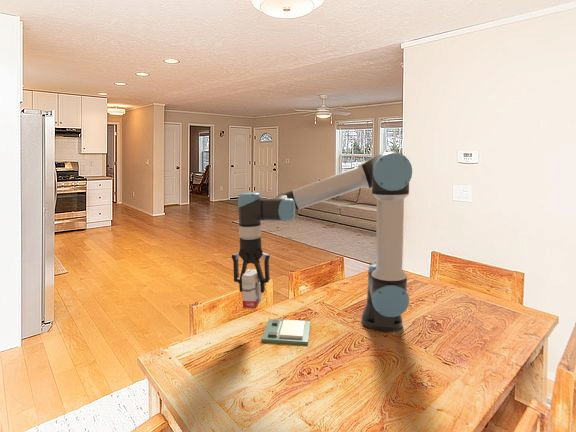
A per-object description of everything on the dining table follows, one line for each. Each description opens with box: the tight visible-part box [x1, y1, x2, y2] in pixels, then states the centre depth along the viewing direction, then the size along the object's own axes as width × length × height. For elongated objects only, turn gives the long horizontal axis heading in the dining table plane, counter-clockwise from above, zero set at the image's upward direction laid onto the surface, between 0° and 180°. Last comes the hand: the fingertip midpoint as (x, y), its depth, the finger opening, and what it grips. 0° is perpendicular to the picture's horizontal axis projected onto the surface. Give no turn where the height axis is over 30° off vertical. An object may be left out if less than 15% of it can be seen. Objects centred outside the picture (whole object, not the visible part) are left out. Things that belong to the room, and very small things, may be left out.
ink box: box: [241, 268, 261, 309], centre depth 136 cm, size 9×5×12 cm, turn 169°
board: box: [260, 318, 311, 346], centre depth 138 cm, size 16×16×2 cm
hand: (252, 300), depth 136 cm, fingers closed on ink box, 5 cm apart
